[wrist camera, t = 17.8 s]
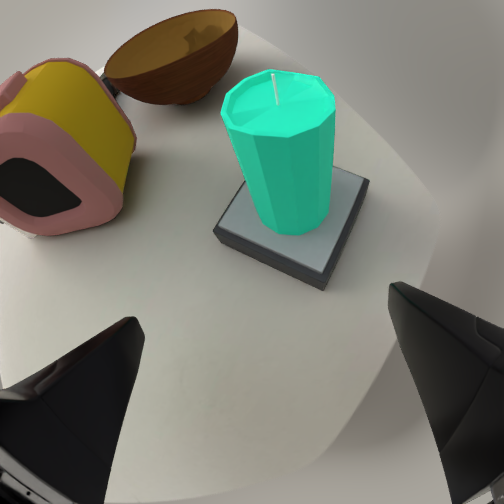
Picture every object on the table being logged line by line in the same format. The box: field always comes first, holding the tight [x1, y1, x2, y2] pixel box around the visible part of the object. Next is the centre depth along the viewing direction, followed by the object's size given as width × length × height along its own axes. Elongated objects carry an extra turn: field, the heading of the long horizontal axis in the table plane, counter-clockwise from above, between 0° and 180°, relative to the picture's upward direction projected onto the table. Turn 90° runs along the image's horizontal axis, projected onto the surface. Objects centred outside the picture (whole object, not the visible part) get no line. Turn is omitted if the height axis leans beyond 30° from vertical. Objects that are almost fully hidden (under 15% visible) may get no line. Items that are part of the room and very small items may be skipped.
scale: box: [213, 166, 370, 291], centre depth 24 cm, size 10×10×3 cm
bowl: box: [104, 9, 238, 105], centre depth 31 cm, size 18×18×10 cm
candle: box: [220, 69, 336, 235], centre depth 17 cm, size 6×6×12 cm
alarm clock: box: [0, 58, 137, 236], centre depth 23 cm, size 18×11×19 cm, turn 93°
